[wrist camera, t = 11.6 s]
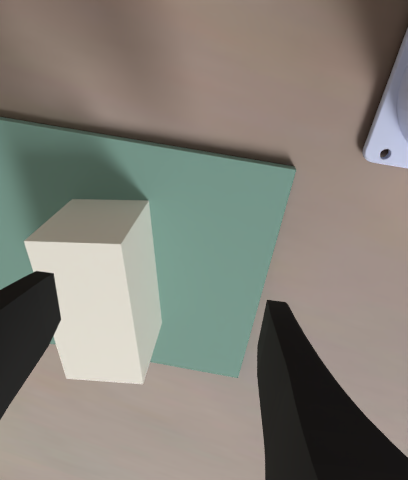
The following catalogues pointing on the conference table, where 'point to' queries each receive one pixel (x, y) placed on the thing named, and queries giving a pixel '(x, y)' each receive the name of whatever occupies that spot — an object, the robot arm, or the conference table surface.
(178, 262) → the mat
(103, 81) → the conference table surface
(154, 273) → the card box
